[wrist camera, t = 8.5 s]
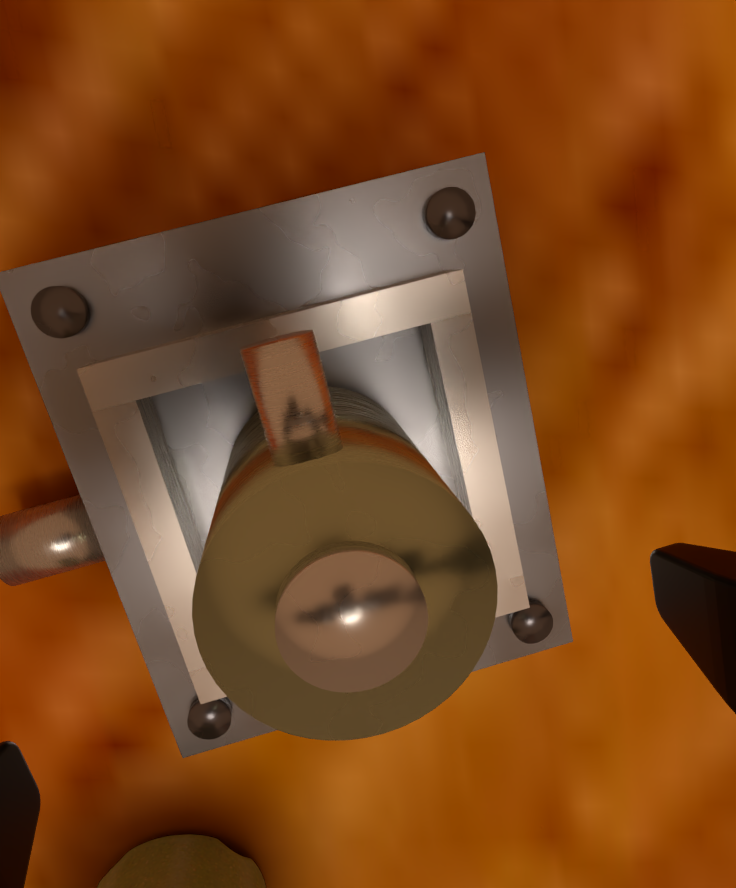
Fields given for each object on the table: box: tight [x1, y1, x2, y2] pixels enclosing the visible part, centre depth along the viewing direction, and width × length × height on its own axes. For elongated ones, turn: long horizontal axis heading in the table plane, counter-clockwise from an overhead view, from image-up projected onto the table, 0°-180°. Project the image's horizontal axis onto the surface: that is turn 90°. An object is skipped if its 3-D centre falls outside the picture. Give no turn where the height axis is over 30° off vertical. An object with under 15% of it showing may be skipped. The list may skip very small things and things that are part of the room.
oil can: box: [192, 330, 498, 740], centre depth 13 cm, size 7×5×8 cm
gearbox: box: [0, 152, 573, 758], centre depth 18 cm, size 14×15×4 cm
